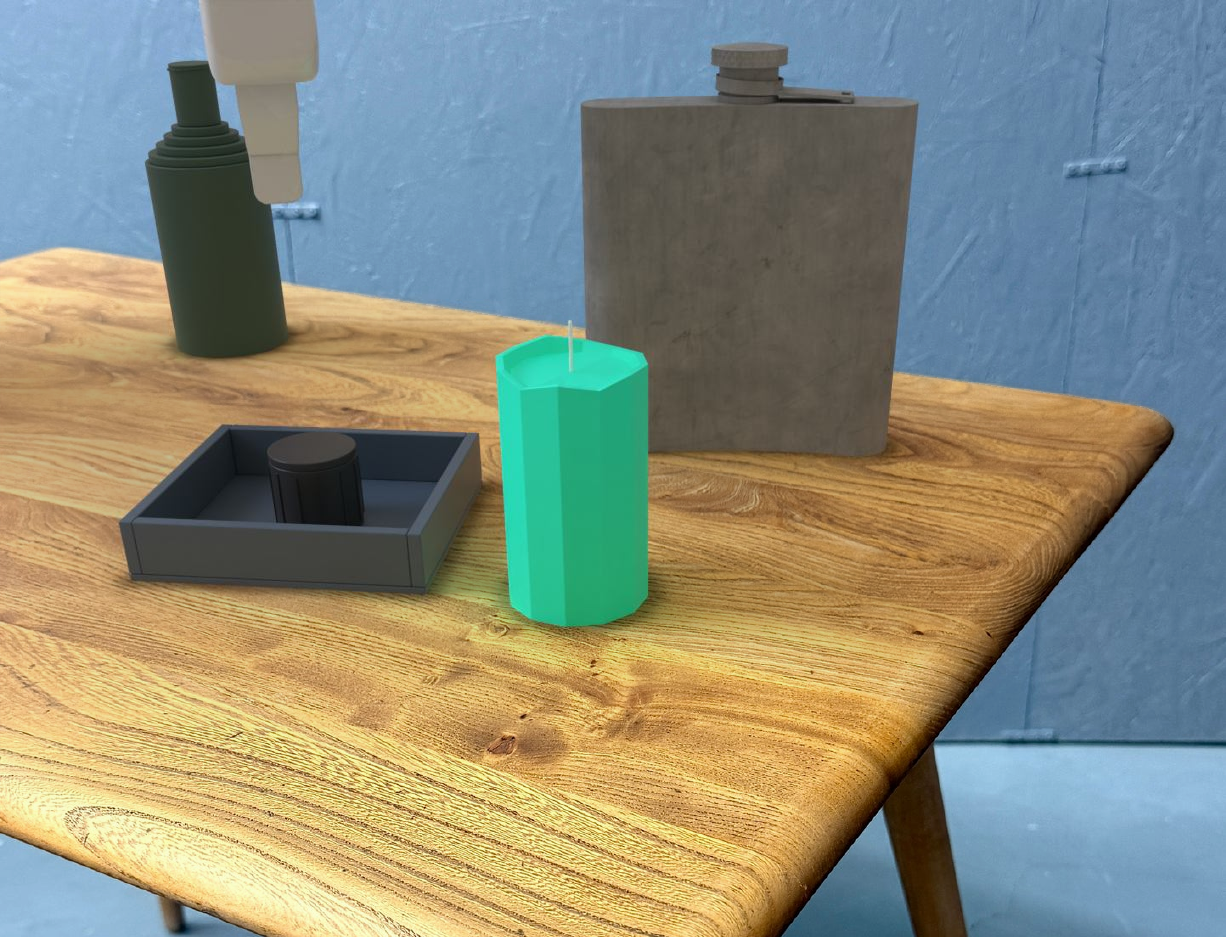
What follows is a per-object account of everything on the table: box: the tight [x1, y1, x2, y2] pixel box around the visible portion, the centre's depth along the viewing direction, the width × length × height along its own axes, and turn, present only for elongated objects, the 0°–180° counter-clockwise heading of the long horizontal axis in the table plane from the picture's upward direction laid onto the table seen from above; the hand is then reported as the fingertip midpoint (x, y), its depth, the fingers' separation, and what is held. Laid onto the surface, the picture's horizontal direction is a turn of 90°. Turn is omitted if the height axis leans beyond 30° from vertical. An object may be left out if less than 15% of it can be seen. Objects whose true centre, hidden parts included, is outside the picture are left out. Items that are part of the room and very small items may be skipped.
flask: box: [144, 60, 290, 359], centre depth 83 cm, size 7×7×18 cm
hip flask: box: [579, 41, 920, 458], centre depth 66 cm, size 16×4×20 cm, turn 87°
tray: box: [118, 423, 483, 596], centre depth 61 cm, size 13×12×3 cm
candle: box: [494, 319, 649, 628], centre depth 53 cm, size 6×6×12 cm
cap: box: [267, 432, 365, 526], centre depth 60 cm, size 4×4×4 cm
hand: (273, 177), depth 54 cm, fingers open, 8 cm apart
